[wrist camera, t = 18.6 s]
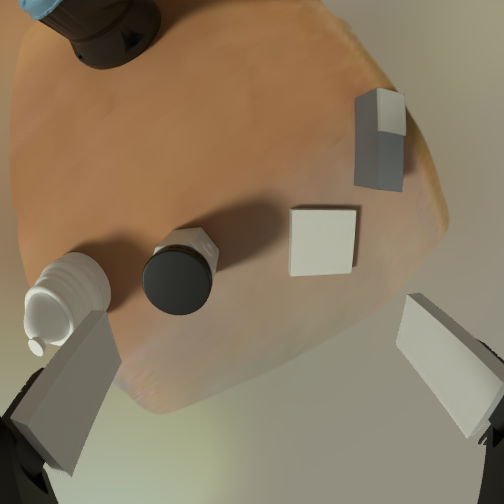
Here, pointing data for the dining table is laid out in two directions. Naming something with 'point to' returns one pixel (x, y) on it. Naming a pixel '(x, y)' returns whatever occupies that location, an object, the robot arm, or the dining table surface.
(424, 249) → the dining table surface
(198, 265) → the jar
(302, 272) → the tile
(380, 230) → the dining table surface
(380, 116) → the grey rectangular block
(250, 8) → the dining table surface
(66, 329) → the honey pot
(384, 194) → the dining table surface
